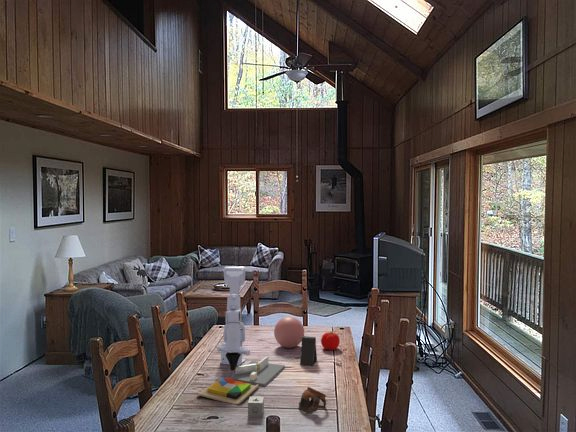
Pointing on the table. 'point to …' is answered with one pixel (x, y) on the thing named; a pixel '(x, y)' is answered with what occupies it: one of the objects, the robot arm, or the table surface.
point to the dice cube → (256, 406)
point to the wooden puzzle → (228, 390)
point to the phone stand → (308, 351)
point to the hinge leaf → (246, 369)
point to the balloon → (289, 332)
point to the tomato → (330, 341)
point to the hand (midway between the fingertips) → (233, 369)
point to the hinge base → (260, 373)
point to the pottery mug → (314, 401)
